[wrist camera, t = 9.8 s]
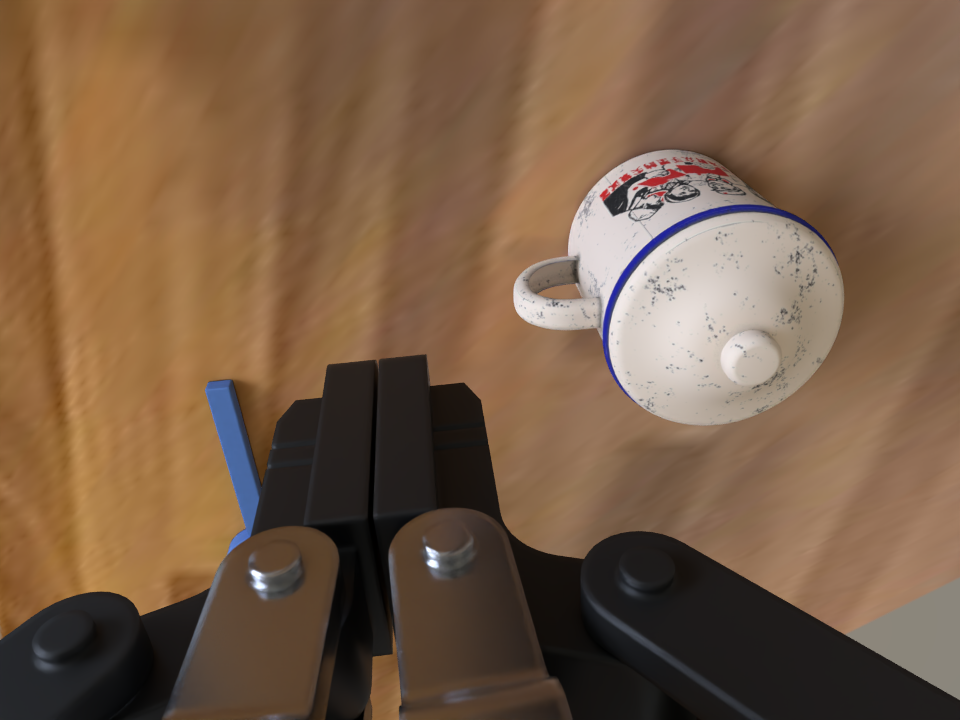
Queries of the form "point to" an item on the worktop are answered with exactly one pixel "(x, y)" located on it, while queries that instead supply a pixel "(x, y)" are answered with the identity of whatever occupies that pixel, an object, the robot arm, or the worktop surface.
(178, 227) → the worktop surface
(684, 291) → the teacup with lid
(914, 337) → the worktop surface
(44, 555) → the worktop surface
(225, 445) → the spoon
